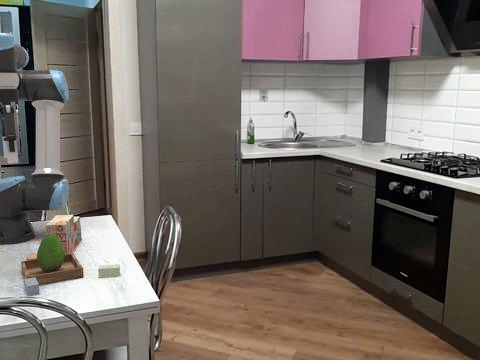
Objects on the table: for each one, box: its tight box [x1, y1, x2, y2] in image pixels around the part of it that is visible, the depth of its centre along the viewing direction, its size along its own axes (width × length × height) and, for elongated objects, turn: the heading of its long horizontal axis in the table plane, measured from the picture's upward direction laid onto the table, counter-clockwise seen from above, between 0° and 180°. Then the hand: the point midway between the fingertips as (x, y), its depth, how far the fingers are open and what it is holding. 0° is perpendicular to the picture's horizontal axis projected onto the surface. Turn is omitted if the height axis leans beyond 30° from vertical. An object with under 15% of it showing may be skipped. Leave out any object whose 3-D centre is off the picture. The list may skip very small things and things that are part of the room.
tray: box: [20, 252, 85, 286], centre depth 151 cm, size 16×16×3 cm
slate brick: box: [23, 277, 40, 297], centre depth 138 cm, size 6×3×3 cm, turn 31°
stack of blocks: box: [45, 214, 83, 254], centre depth 173 cm, size 21×6×12 cm, turn 5°
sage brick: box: [97, 263, 121, 279], centre depth 149 cm, size 6×3×3 cm, turn 100°
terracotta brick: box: [25, 252, 37, 260], centre depth 159 cm, size 6×3×3 cm, turn 29°
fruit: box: [36, 233, 64, 273], centre depth 150 cm, size 8×8×12 cm
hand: (11, 160), depth 148 cm, fingers open, 13 cm apart
